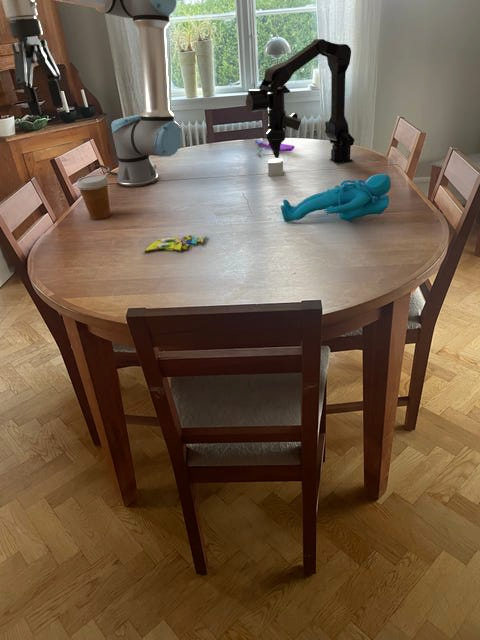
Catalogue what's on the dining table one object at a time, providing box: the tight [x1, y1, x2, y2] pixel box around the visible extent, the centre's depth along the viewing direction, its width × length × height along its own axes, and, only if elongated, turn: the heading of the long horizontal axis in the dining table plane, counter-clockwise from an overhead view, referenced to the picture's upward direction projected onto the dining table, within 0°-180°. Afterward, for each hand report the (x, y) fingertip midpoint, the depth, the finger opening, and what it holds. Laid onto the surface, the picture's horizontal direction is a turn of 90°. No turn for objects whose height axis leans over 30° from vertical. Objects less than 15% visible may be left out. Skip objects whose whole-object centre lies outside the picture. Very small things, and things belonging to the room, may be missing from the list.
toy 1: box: [144, 234, 207, 254], centre depth 130 cm, size 10×1×15 cm
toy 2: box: [280, 173, 392, 223], centre depth 134 cm, size 17×11×30 cm
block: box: [267, 158, 284, 177], centre depth 177 cm, size 5×5×5 cm
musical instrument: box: [254, 139, 295, 156], centre depth 208 cm, size 24×2×20 cm
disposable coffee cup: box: [76, 174, 111, 220], centre depth 151 cm, size 10×10×12 cm
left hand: (48, 110), depth 131 cm, fingers open, 13 cm apart
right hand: (277, 154), depth 174 cm, fingers open, 9 cm apart
